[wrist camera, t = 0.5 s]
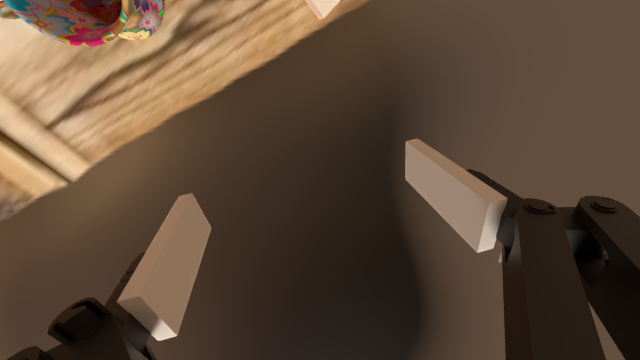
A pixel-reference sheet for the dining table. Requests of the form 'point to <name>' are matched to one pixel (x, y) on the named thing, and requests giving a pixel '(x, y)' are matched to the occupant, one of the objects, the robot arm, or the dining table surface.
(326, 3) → the cream rectangular block
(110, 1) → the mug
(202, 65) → the dining table surface
